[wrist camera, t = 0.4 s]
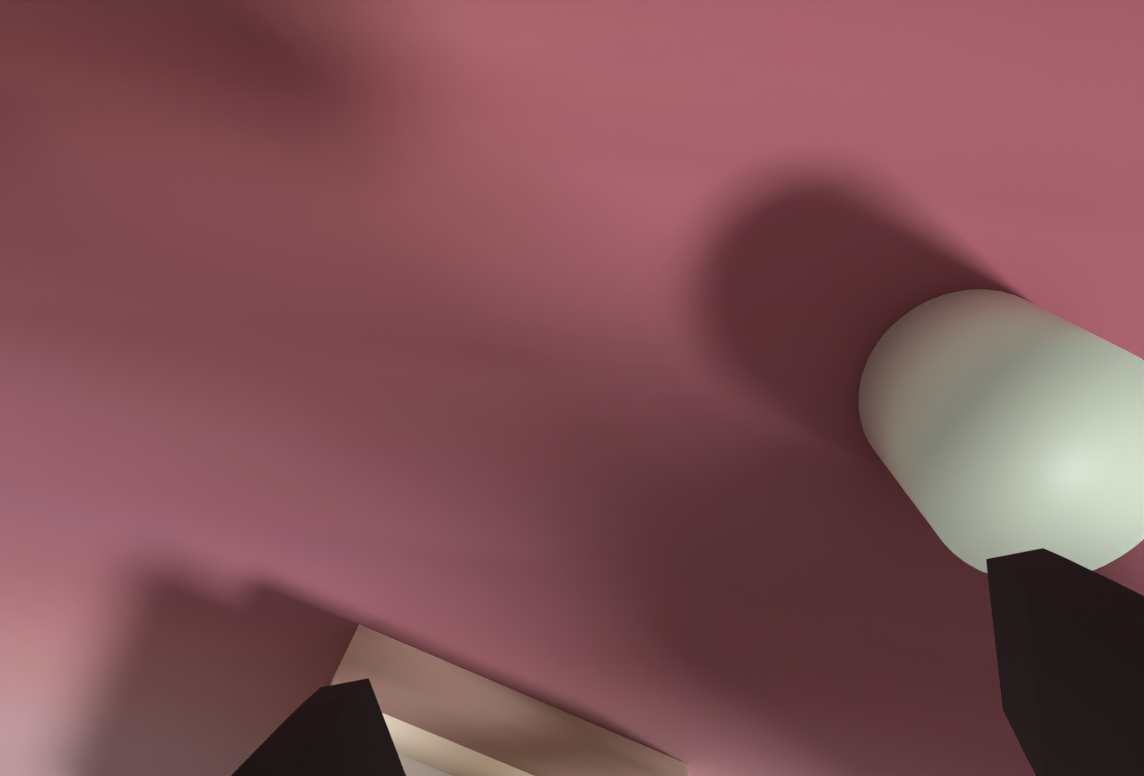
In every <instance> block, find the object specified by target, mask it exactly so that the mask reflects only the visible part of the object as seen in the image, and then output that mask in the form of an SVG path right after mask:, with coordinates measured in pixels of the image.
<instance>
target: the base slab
mask: <svg viewBox="0 0 1144 776" xmlns="http://www.w3.org/2000/svg"><path fill="white" fill-rule="evenodd" d="M367 678H369V680H370V683H371V685H372V688H373V691H374V693H375V696H376V698H377V701H378V704H379V706H380V709H381V711H382V714H383V717H384V719H385V722H386V725H387V727H388V730H389V732H390V735H391V738H392V740H393V743H394V745H395V748H396V751H397V753H398V754H401V755H403V756H405V757H408V758H410V759H413V760H415V761H418V762H420V763H423V764H425V765H427V766H430V767H432V768H435V769H437V770H440V771H442V772H444V773H447V774H449V775H452V776H688V774H687V766H686V763H684V762H681V761H679V760H677V759H674V758H672V757H670V756H667V755H665V754H663V753H660V752H658V751H656V750H653V749H651V748H649V747H646V746H644V745H642V744H639V743H637V742H634V741H632V740H630V739H627V738H625V737H623V736H620V735H618V734H616V733H613V732H611V731H609V730H606V729H604V728H602V727H599V726H597V725H595V724H592V723H590V722H588V721H585V720H583V719H580V718H578V717H576V716H573V715H571V714H569V713H566V712H564V711H562V710H559V709H557V708H555V707H552V706H550V705H548V704H545V703H543V702H541V701H538V700H536V699H534V698H531V697H529V696H526V695H524V694H522V693H519V692H517V691H515V690H512V689H510V688H508V687H505V686H503V685H501V684H498V683H496V682H494V681H491V680H489V679H487V678H484V677H482V676H480V675H477V674H475V673H472V672H470V671H468V670H465V669H463V668H461V667H458V666H456V665H454V664H451V663H449V662H447V661H444V660H442V659H440V658H437V657H435V656H433V655H430V654H428V653H426V652H423V651H421V650H418V649H416V648H414V647H411V646H409V645H407V644H404V643H402V642H400V641H397V640H395V639H393V638H390V637H388V636H386V635H383V634H381V633H379V632H376V631H374V630H372V629H369V628H367V627H364V626H362V625H360V624H359V625H358V627H357V629H356V631H355V634H354V636H353V638H352V640H351V642H350V644H349V646H348V648H347V650H346V652H345V654H344V656H343V658H342V660H341V662H340V664H339V666H338V669H337V671H336V673H335V675H334V677H333V679H332V681H331V683H330V685H336V684H341V683H346V682H351V681H356V680H362V679H367ZM330 685H329V686H330Z"/></svg>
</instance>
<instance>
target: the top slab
mask: <svg viewBox="0 0 1144 776" xmlns="http://www.w3.org/2000/svg"><path fill="white" fill-rule="evenodd" d="M398 756H399V758H400V761H401V764H402V766H403V769H404V772H405V774H406V776H452V775H449V774H447V773H444V772H442V771H440V770H437V769H435V768H432V767H430V766H427V765H425V764H423V763H420V762H418V761H415V760H413V759H410V758H408V757H405V756H403V755H401V754H398Z"/></svg>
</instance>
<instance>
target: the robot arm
mask: <svg viewBox="0 0 1144 776" xmlns="http://www.w3.org/2000/svg"><path fill="white" fill-rule="evenodd" d="M986 563H987V572H988V581H989V590H990V598H991V607H992V616H993V625H994V634H995V642H996V651H997V660H998V669H999V678H1000V687H1001V695H1002V704H1003V711H1004V713H1005V715H1006V717H1007V719H1008V721H1009V723H1010V725H1011V727H1012V729H1013V731H1014V733H1015V735H1016V737H1017V739H1018V741H1019V743H1020V745H1021V747H1022V749H1023V751H1024V753H1025V755H1026V757H1027V759H1028V761H1029V762H1030V764H1031V766H1032V768H1033V770H1034V772H1035V774H1036V776H1144V596H1142V595H1140V594H1138V593H1136V592H1134V591H1132V590H1130V589H1128V588H1126V587H1124V586H1122V585H1120V584H1118V583H1116V582H1114V581H1112V580H1110V579H1108V578H1106V577H1104V576H1102V575H1100V574H1098V573H1096V572H1094V571H1092V570H1090V569H1087V568H1085V567H1083V566H1081V565H1079V564H1077V563H1075V562H1073V561H1071V560H1069V559H1067V558H1065V557H1062V556H1060V555H1058V554H1056V553H1053V552H1051V551H1049V550H1047V549H1044V548H1041V549H1036V550H1031V551H1025V552H1020V553H1015V554H1010V555H1005V556H999V557H994V558H989V559H986ZM231 776H406V774H405V772H404V769H403V766H402V764H401V761H400V758H399V756H398V753H397V751H396V748H395V745H394V743H393V740H392V738H391V735H390V732H389V730H388V727H387V725H386V722H385V719H384V717H383V714H382V711H381V709H380V706H379V704H378V701H377V698H376V696H375V693H374V691H373V688H372V685H371V683H370V680H369V678H367V679H362V680H356V681H351V682H346V683H341V684H336V685H330V686H325V687H321V688H320V689H319V690H317V691H316V692H315V693H314V694H313V695H312V696H311V697H309V698H308V699H307V700H306V701H305V702H304V703H303V704H302V705H301V706H300V707H299V708H298V709H297V710H296V711H295V712H294V713H293V714H291V715H290V716H289V717H288V718H287V719H286V720H285V721H284V722H283V723H282V724H281V725H280V726H279V727H278V728H277V729H276V730H275V731H274V733H273V734H272V735H271V736H270V737H269V738H268V739H267V740H266V741H265V742H264V743H263V744H262V745H261V746H260V747H259V748H258V749H257V750H256V751H255V752H254V753H253V754H252V755H251V756H250V757H249V758H248V759H247V760H246V761H245V762H244V763H243V764H242V765H241V766H240V767H239V768H238V769H237V770H236V771H235V772H234V773H233V774H232V775H231Z"/></svg>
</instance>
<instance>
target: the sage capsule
mask: <svg viewBox="0 0 1144 776" xmlns="http://www.w3.org/2000/svg"><path fill="white" fill-rule="evenodd" d="M858 410H859V416H860V421H861V425H862V428H863V431H864V434H865V436H866V438H867V440H868V442H869V444H870V445H871V447H872V448H873V449H874V451H875V452H876V454H877V455H878V456H879V458H880V459H881V460H882V462H883V463H884V464H885V466H886V467H887V468H888V470H889V471H890V472H891V474H892V475H893V476H894V478H895V479H896V480H897V482H898V483H899V484H900V486H901V487H902V488H903V490H904V491H905V492H906V494H907V495H908V496H909V498H910V499H911V500H912V502H913V503H914V504H915V506H916V507H917V508H918V510H919V511H920V512H921V514H922V515H923V516H924V518H925V519H926V520H927V522H928V523H929V524H930V526H931V527H932V528H933V530H934V531H935V532H936V534H937V535H938V536H939V538H940V539H941V540H942V542H943V543H944V544H945V545H946V546H947V547H948V548H949V549H950V550H951V551H952V552H953V553H954V554H955V555H956V556H958V557H959V558H960V559H962V560H963V561H964V562H965V563H967V564H969V565H971V566H972V567H974V568H976V569H978V570H980V571H983V572H985V573H988V572H987V563H986V559H989V558H994V557H999V556H1005V555H1010V554H1015V553H1020V552H1025V551H1031V550H1036V549H1041V548H1044V549H1047V550H1049V551H1051V552H1053V553H1056V554H1058V555H1060V556H1062V557H1065V558H1067V559H1069V560H1071V561H1073V562H1075V563H1077V564H1079V565H1081V566H1083V567H1085V568H1087V569H1090V570H1092V571H1093V570H1095V569H1097V568H1100V567H1102V566H1104V565H1107V564H1108V563H1110V562H1112V561H1114V560H1116V559H1117V558H1119V557H1121V556H1122V555H1124V554H1125V553H1127V552H1128V551H1129V550H1131V549H1132V548H1134V547H1135V546H1136V545H1138V544H1139V543H1140V542H1141V541H1142V540H1143V539H1144V360H1142V359H1141V358H1139V357H1137V356H1135V355H1133V354H1132V353H1130V352H1128V351H1126V350H1124V349H1122V348H1120V347H1118V346H1116V345H1114V344H1112V343H1110V342H1108V341H1106V340H1104V339H1102V338H1100V337H1098V336H1096V335H1094V334H1092V333H1090V332H1088V331H1086V330H1084V329H1082V328H1080V327H1078V326H1076V325H1074V324H1073V323H1071V322H1069V321H1067V320H1065V319H1063V318H1061V317H1059V316H1057V315H1055V314H1053V313H1051V312H1049V311H1047V310H1045V309H1043V308H1041V307H1039V306H1037V305H1035V304H1033V303H1031V302H1029V301H1027V300H1025V299H1023V298H1020V297H1018V296H1016V295H1013V294H1009V293H1006V292H1002V291H996V290H989V289H971V290H962V291H956V292H952V293H948V294H944V295H941V296H939V297H936V298H933V299H930V300H928V301H926V302H925V303H923V304H921V305H919V306H917V307H915V308H914V309H912V310H911V311H909V312H908V313H906V314H905V315H903V316H902V317H901V318H900V319H899V320H898V321H896V322H895V323H894V324H893V325H892V326H891V327H890V328H889V329H888V330H887V331H886V332H885V334H884V335H883V336H882V337H881V339H880V340H879V341H878V343H877V344H876V345H875V347H874V349H873V351H872V352H871V354H870V356H869V358H868V360H867V362H866V365H865V367H864V370H863V373H862V377H861V381H860V385H859V394H858Z"/></svg>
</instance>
